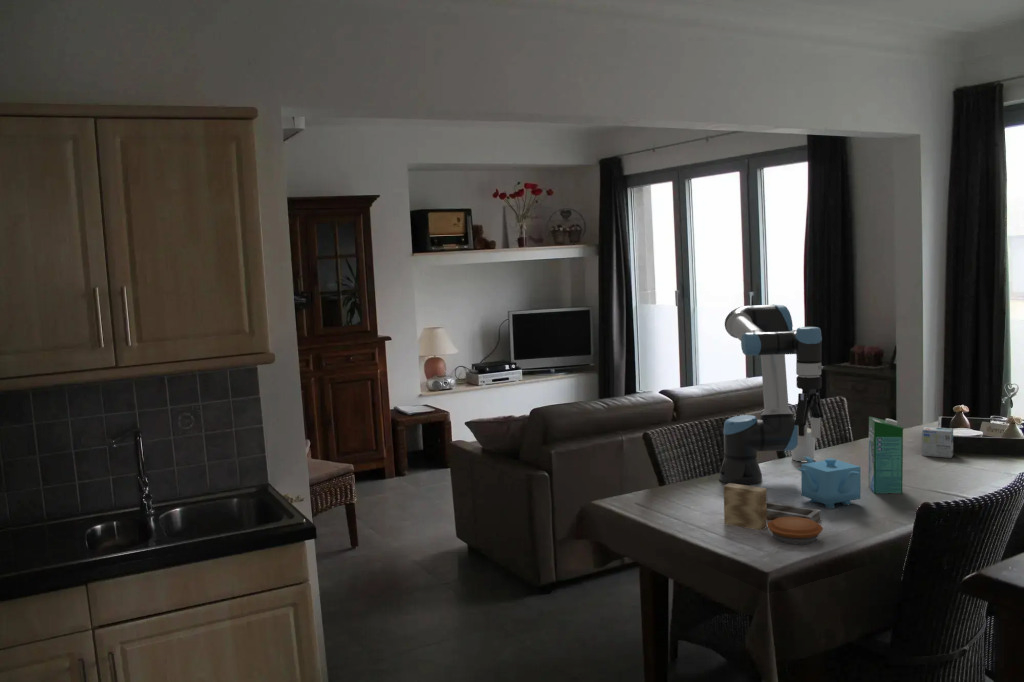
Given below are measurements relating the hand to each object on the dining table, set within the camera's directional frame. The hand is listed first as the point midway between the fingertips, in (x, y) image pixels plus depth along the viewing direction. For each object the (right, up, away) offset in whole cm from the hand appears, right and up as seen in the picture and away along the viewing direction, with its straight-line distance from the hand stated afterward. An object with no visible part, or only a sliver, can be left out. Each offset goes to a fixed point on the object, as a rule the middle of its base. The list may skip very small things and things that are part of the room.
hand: (809, 441), depth 269 cm
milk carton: (+34, -20, +22) cm, 45 cm away
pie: (-12, -26, -23) cm, 36 cm away
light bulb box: (+75, -14, +67) cm, 101 cm away
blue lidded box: (+10, -22, +10) cm, 26 cm away
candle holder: (+21, -16, +68) cm, 72 cm away
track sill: (-10, -23, -4) cm, 26 cm away
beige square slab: (-23, -25, -10) cm, 35 cm away
